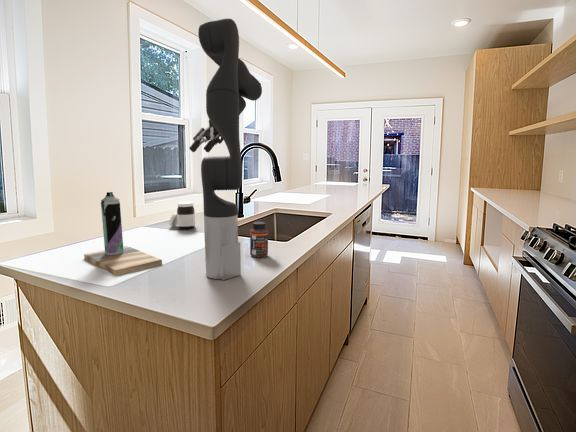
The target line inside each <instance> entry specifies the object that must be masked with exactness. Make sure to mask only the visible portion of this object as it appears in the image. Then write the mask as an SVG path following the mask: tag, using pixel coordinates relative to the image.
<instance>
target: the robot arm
mask: <svg viewBox="0 0 576 432" xmlns="http://www.w3.org/2000/svg"><path fill="white" fill-rule="evenodd" d="M197 33H198V34H197V35H198V40H199V44H200V46H201V48H202V51H203V52H204V53H205V54H206V55H207V56H208V58H210V59H211V60H212V61H213V62H214V63H215V64H216V65H217V66H218V68H217V70H216V72H215V73H214V74H213V76H212V78H211V80H210V81H209V83H208V85H207V88H206V90H205V91H206V93H205V98H206V99H205V102H206V103H205V104H206V105H205V109H206V110H205V111H206V115H207V117H208V127H206V128H205V127H202V128H200V129H199V131H198V132H196V134H195V135H194V136H193V138H192V140H193V141H194V142H193V143H192V144H191V145H190V146H189V150H190V151H191V152H192V153H195V152H196V151H197V149H198V148H199V147H200V146H201V145H202V144H204V143H206V145H204V147H203V150H204V151H205V152H206V153H210V152H211V150H212V149H213V148H214V147H215V146H216V145H218V144H219V145H220V144H222V143H225V145H226V148H227V151H228V154H229V155H228V156H227V155H218V156H217V155H216V156H215V155H211V156H210V155H208V156H207V155H206V156H204V157H203V158H202V160H201V162H200V163H201V164H200V176H201V185H202V195H203V196H202V197H203V202H202V203H203V232H204V233H203V234H204V256H205V257H204V259H205V260H204V261H205V262H204V263H205V275H206V277H207V278H210V279H215V280H222V281H225V280H226V281H227V280H228V279H232V278H235V277H237V276H241V275H242V265H241V263H242V261H241V257H242V255H241V242H240V241H239V226H238V225H239V223H238V222H239V220H238V218H239V216H238V206H237V204H236V203H234V202H231V201H229V200H226V199H223V198H222V197H219V196H218V195H217V194H216V191H236V190H239V189H240V188H241V187H242V184H243V165H242V153H241V142H240V115H241V114H242V113H243V111H244V110H245V109H246V107H247V102H246V100H245V99H247V100H249V101H252V102H253V101H257V100H259V99H260V97H262V93H263V88H262V84H261V82H260V81H259V80H258V79H257V78H256V77H255V76H254V75H253V74H252V73H251V72H250V70H249V68H248V66H247V65H246V63H245V62H244V61H243V60H242V59H241V58H239V55H240V36H239V29H238V26H237V23H236V21H234V20H233V18H222V19H221V18H220V19H216V20H211V21H206V22H202V23H201V24H199V27H198V32H197ZM244 98H245V99H244ZM223 141H224V142H223Z"/></svg>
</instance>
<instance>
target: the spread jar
mask: <svg viewBox="0 0 576 432" xmlns="http://www.w3.org/2000/svg"><path fill="white" fill-rule="evenodd" d="M194 207H195V206H194V202H192V201H179V202H177V209H176V212H174V213H172V215H171V217H170V218H169V219H170V220H169V222H168V224H169V226H170V227H171V228H175V227H176V226H177V229H178V230H180V231H181V230H182V231H187V230H188V231H189V230H190V231H191V230H193V229H195V228H196V216H195V215H196V213H195V212H196V211H195V208H194Z"/></svg>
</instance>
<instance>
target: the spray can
mask: <svg viewBox="0 0 576 432" xmlns="http://www.w3.org/2000/svg"><path fill="white" fill-rule="evenodd" d="M100 201H101V202H100V207H101V208H100V209H101V221H102V231H103V232H102V233H103V244H104V250H105V254H106V255H118V254H121V253H123V252H124V250H123V247H124V243H123V242H124V238H123V226H122V225H123V224H122V215H121V214H122V212H121V211H122V210H121V202H120V199H119V198H117V197H116V196H115V195H114V192H113V191H110V192H108V191H107V192H106V195H105V196H104V197H103V198H102V199H101V200H100Z"/></svg>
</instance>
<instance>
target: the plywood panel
mask: <svg viewBox="0 0 576 432" xmlns="http://www.w3.org/2000/svg"><path fill="white" fill-rule="evenodd" d="M123 250H124V252H123V253H121V254H118V255H106V254H105V249H103V250H99V251H94V252H89V253H83V256H84V258H83V259H84V260H87V261H88V262H90V263H92V264H94V265H96V266H98V267H100V268H102V269H103V270H106V271H107V272H109V273H111V274H112V275H115V276H120V275H123V274H127V273H128V274H129V273H132V272H137V271H140V270H144V269H149V268H152V267H156V266H161V264H162V265H163V260H162V259H161V258H158V257H156V256H155V255H154V256H153V255H151V254H148V253H146V252H144V251H141V250H140V249H139V250H138V249H136V248H133V247H131V246H127V245H126V246H123Z"/></svg>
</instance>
